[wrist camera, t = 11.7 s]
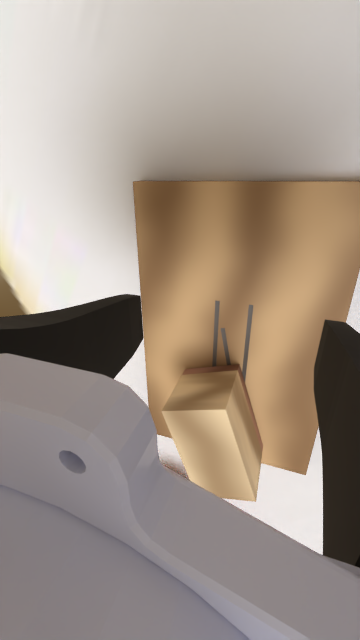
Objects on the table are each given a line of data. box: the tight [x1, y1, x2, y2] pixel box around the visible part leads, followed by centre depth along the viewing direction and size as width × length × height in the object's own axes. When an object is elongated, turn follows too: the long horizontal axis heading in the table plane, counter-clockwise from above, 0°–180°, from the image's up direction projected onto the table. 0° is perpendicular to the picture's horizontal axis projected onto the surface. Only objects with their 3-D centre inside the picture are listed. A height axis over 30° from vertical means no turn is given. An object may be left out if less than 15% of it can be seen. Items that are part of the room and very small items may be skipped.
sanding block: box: [162, 364, 263, 502], centre depth 23 cm, size 4×8×5 cm, turn 18°
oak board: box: [133, 181, 360, 475], centre depth 23 cm, size 14×22×1 cm, turn 0°
